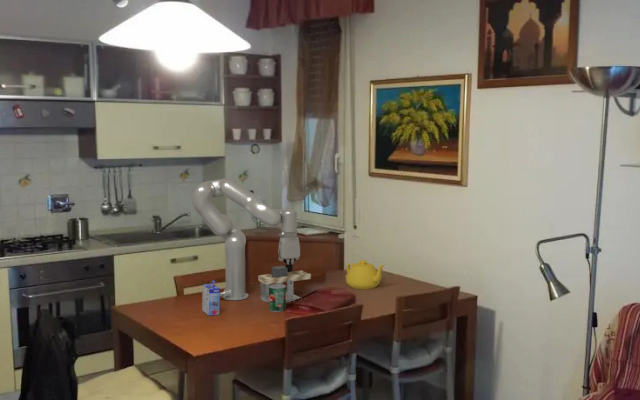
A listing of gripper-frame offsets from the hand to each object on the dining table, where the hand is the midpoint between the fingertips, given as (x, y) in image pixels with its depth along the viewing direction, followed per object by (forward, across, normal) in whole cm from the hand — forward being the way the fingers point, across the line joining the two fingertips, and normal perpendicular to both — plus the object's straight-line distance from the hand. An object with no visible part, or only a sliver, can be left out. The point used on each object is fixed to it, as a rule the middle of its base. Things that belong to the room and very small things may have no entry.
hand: (289, 271), depth 319 cm
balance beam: (+4, -2, 0) cm, 4 cm away
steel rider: (+2, -5, 0) cm, 6 cm away
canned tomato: (+13, -14, -17) cm, 26 cm away
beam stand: (+13, -6, 0) cm, 14 cm away
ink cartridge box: (+13, -43, -8) cm, 46 cm away
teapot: (+13, +46, +2) cm, 47 cm away
